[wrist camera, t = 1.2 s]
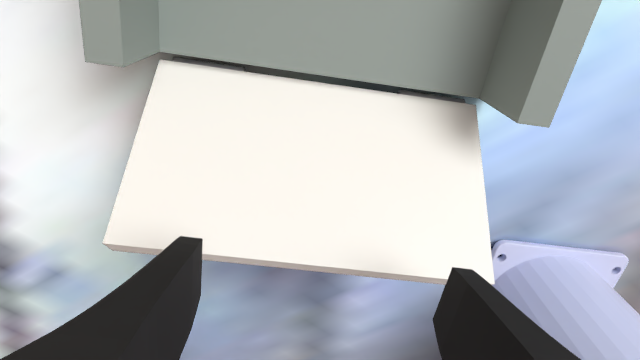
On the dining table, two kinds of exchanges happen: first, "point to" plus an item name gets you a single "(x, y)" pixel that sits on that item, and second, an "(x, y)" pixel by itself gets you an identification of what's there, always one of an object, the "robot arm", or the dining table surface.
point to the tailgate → (305, 176)
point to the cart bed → (365, 42)
